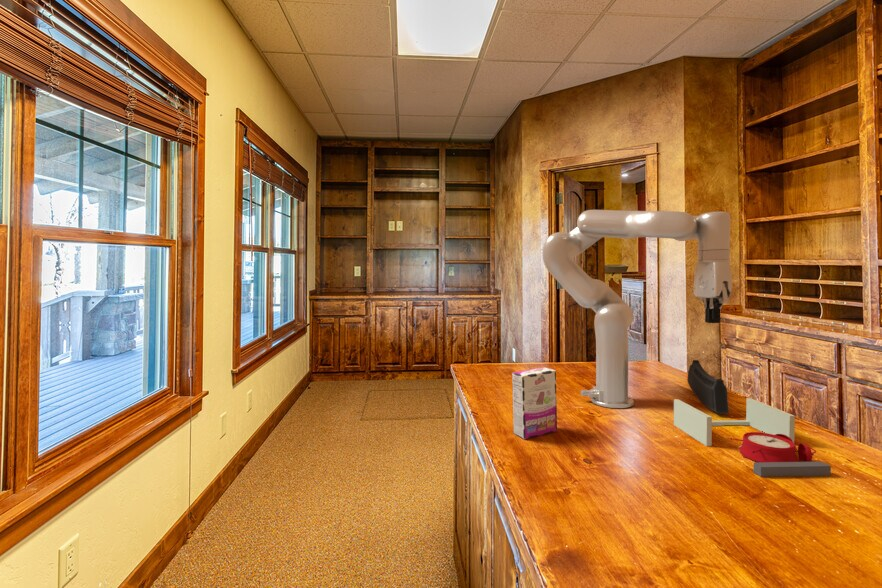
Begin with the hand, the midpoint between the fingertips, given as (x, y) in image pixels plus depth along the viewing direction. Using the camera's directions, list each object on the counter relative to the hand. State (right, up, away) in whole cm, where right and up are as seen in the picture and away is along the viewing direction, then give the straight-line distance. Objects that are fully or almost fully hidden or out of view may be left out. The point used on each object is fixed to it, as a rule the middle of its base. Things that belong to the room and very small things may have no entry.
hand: (712, 322), depth 116 cm
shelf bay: (-3, -28, -11) cm, 30 cm away
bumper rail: (-5, -29, -32) cm, 43 cm away
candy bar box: (-52, -29, -7) cm, 59 cm away
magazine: (+8, -27, +16) cm, 32 cm away
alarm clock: (-1, -29, -24) cm, 37 cm away
